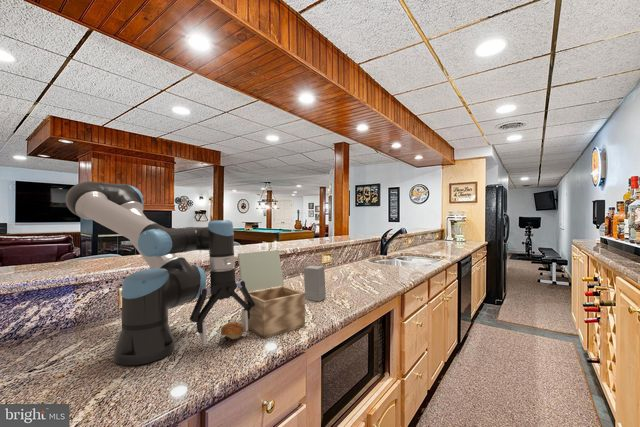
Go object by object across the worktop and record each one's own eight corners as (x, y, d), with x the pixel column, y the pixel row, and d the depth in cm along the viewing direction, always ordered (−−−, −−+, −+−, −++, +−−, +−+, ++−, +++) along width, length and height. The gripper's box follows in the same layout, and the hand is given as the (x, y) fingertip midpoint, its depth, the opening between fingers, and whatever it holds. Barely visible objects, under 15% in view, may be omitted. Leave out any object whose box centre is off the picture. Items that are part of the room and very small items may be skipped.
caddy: (263, 338, 97) (263, 302, 97) (244, 326, 108) (244, 293, 108) (304, 326, 108) (305, 293, 108) (283, 316, 119) (283, 286, 119)
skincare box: (326, 299, 143) (326, 266, 143) (318, 302, 137) (318, 268, 137) (311, 296, 148) (311, 264, 148) (303, 299, 141) (303, 266, 142)
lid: (238, 253, 111) (236, 254, 112) (243, 292, 108) (241, 293, 109) (278, 250, 122) (276, 250, 123) (284, 285, 119) (282, 285, 120)
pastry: (236, 342, 91) (241, 330, 91) (215, 334, 91) (220, 322, 91) (241, 336, 100) (246, 325, 101) (222, 329, 100) (227, 318, 101)
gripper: (184, 277, 83) (187, 353, 83) (263, 264, 99) (265, 327, 99) (176, 274, 89) (179, 344, 89) (252, 262, 105) (255, 321, 105)
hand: (225, 336), depth 94 cm, fingers open, 13 cm apart
